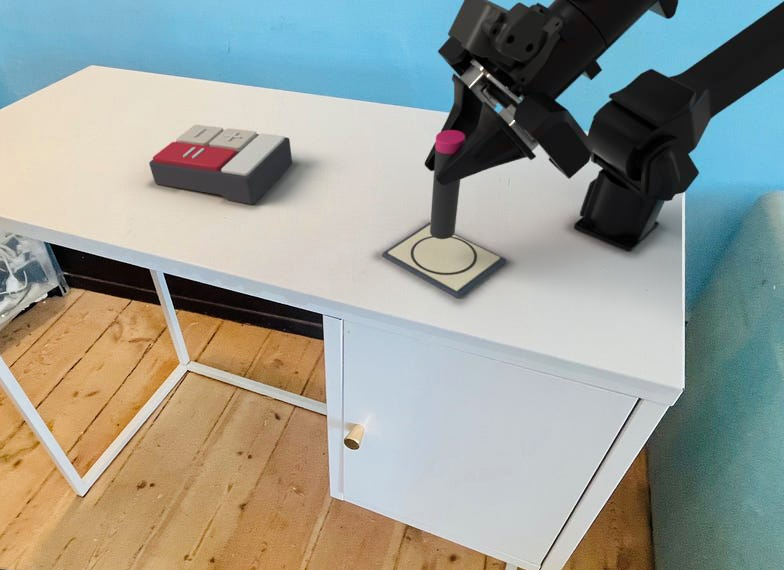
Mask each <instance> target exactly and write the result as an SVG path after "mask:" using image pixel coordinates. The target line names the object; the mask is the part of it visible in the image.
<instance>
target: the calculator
mask: <svg viewBox="0 0 784 570" xmlns="http://www.w3.org/2000/svg"><path fill="white" fill-rule="evenodd" d="M148 164H149V168H150V172H151V175H152V178H153V181H154V184H156V185H158V186H159V185H160V186H165V187H171V188H177V189H182V190H183V189H184V190H189V191H195V192H202V193H208V194H213V195H220V196H222V198H224V199H226V201H229V202H230V201H231V202H236V203H242V204H249V205H254V204H255V203H257V201H258V200H259V199H260V198H261V197H263V195H264V194H265V193H266V192H267V191H268V190H269V189H270V188H271V187H272V186H273V185H274V184H275V182H277V181H278V180H279V178H281V176H282V175H283V174H284V173H286V171H287V170H288V169H289V168H290V167H291V166H292V165H293V156H292V149H291V139H290V138H289V137H286V136H284V135H277V134H269V133H257V131H255V130H248V129H238V128H229V127H228V128H225V129H224V128H223V127H222V126H221V127H220V126H213V125H212V126H211V125H203V124H202V125H201V124H194V125H192V126H190V128H189V129H187V130H186V131H184V132H183V133H182V134H181V135H179V136H178V137H177V138H176V141H171V142H170V143H169V144H168V145H166V146H165V147H164V148H163V149H161V150H160V151H158V152H157V153H156V154H155V155H154V156H153V157H152V160H150V161H149V163H148Z"/></svg>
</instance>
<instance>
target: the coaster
mask: <svg viewBox="0 0 784 570" xmlns="http://www.w3.org/2000/svg"><path fill="white" fill-rule="evenodd" d="M430 223H431V221H429V222H428V223H426V224H425V225H423V226H422V227H420V228H419V229H417V230H416V231H414V232H413V233H411V234H409V235H408V236H406V237H405V238H403V239H402V240H400V241H398V242H396V244H394V245H393V246H390V247H389V248H388V249H386V250H385V251H383V252H382V253H381V257H383V258H385V259H386V260H387V261H390V262H392V263H393V264H395V265H397V266H399V267H401V268H402V269H404V270H406V271H408V272H410V273H412V274H413V275H415V276H416V277H419V278H420V279H422V280H424V281H426V282H427V283H429V284H431V285H432V286H434V287H436V288H438V289H440V290H442V291H443V292H446V293H447V294H449V295H450V296H452V297H454V298H456V299H460V298H461V297H463V296H464V295H465V294H466V293H468V292H469V291H470V290H472V289H473V288H474V287H476V286H477V285H478V284H479V283H481V282H483V281H484V280H485V279H486V278H488V276H490V275H491V274H493V273H494V272H495V271H497V270H498V269H499V268H500V267H502V266H503V265H504V264H506V263H507V258H505V257H502V256H500V255H498V254H496V253H495V252H493V251H490V250H489V249H486V248H484V247H482V246H480V245H479V244H476V243H473V242H472V241H469V240H468V239H466V238H463V237H461V236H459V235H458V234H456V233H454V235H453V236H452V237H450V238H448V239H437V238H435V237H433V236H432V235H431V234H430Z"/></svg>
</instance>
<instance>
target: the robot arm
mask: <svg viewBox="0 0 784 570" xmlns="http://www.w3.org/2000/svg"><path fill="white" fill-rule="evenodd" d="M678 6H679V0H554V1H552V3H551V4H549V5H548V7H547V6H545V5H543V4H541V3H540V2H537V3H536V4H531V5H530V6H527V5H525V4H524V3H522V2H517V3H515V4H514V5H513V6H512V7H511V8H510V9H507V8H505V7H503V6H501V5H498V4H497V3H494V2H493V1H490V0H463V2H462V4H461V6H460V8H459V10H458V12H457V14H456V15H455V18H454V20H453V22H452V24H451V26H450V28H449V30H448V32H447V36H448V39H447V40H446V41H445V42H444V43H443V45H442V46H441V47H440V48H439V49H438V50H437V53H438V55H440V57H442V59H443V60H444V61H445V62H446V64H448V65H449V67H450V68H451V69H452V70H453V71H454V73H453V74H452V76H451V82H452V83H453V104H452V107H451V109H450V112H449V114H448V116H447V118H446V119H445V120H446V121H445V122H444V124H443V126H442V128H441V130H440V132H442V131H446V130H456V131H460V132H462V133H464V135H465V142H464V143H463V144H462V145H461V147H460V148H459V149H458V150H457V151H456V152H455V153H454V155H453V156H452V157H451V158H450V159H449V160H448V161H447V163H446V164H445V165H444V166H443V168H442V169H441V170H440V172H439V173H438V174H437V176H436V178H435V179H436V181H437V182H438V183H439V184H441V185H442V186H444V185H447V184H450V183H452V182H455V181H458V180H460V181H461V180H462V179H466V178H468V177H470V176H473V175H476V174H478V173H481V172H483V171H487V170H489V169H493V168H496V167H498V166H501V165H505V164H508V163H512V162H515V161H519V160H522V159H526V158H527V159H528V160H529V161H532V160H534V159H536V157H537V155H536V154H535V153H534V150H535V149H536V148H537V147H538V146H539V147H541V149H542V150H543V151H544V152H545V154H546V155H547V156H548V161H549V162H550V163H551V165H553V167H554V168H556V169H557V170H558V171H559V172H560V173H561V174H562V175H564V176H565V178H567V179H568V180H570V179H571V178H573V176H575V175H576V174H577V173H579V171H581V169H582V168H584V167H585V166H586V165H587V164H588V163H589V162H592V163H593V164H596V165H597V166H599V167H600V168H601V169H600V170H599V171H598V173H597V176H596V178H594V179H593V180H591V181H590V182H589V184H588V187H587V190H586V193H585V196H584V199H583V202H582V205H581V208H580V210H579V216H580V217H581V218H579V219H578V220H577V221H576V222H574V225H573V229H574V230H576V231H578V232H581V233H583V234H585V235H588V236H590V237H593V238H594V239H597V240H600V241H602V242H605V243H606V244H610V245H612V246H613V247H616V248H619V249H621V250H623V251H626V252H632V251H634V250H635V249H636V248H637V247H639V245H640V244H642V242H644V241H645V240H646V239H647V238H648V237H649V236H650V235H652V234H653V233H654V232H655V231H656V230H657V229H658V228H659V227H660V222H659V221H657V219H658V217H659V215H660V213H661V210H662V209H663V206H664V204H665V202H669V201H673V199H674V197H676V195H679V194H684V193H685V192H687V190H688V189H689V188H690V186H691V185H692V184H693V182H694V181H695V180H696V179H697V177H698V176H699V174H700V171H699V170H698V167H697V166H696V164H695V163H694V161H693V159H692V158H691V156H690V153H692V152H694V150H695V149H696V148H697V147H698V145H699V143H700V141H701V140H702V137H703V135H704V133H705V131H706V129H707V127H708V126H709V123H710V121H711V120H712V119H713V118H714V117H715V116H716V115H718V114H719V113H721V112H722V111H724V110H726V109H727V108H728V107H730V106H732V105H733V104H734V103H735V102H737V101H738V100H741V98H744V96H746V95H747V94H749V93H750V92H752V91H753V90H755V89H757V87H759V86H761V85H762V84H763V83H765V82H767V81H768V80H770V79H771V78H772V77H774V76H775V75H777V74H778V73H780V72H781V71H783V70H784V0H783V1H782V2H780V3H779V4H778V5H776V6H774V7H773V8H772V9H770V10H769V11H767V12H766V13H764V14H763V15H762V16H760V17H759V18H758V19H756V20H755V21H753V22H752V23H750V24H749V25H748V26H746V27H745V28H743V29H742V30H741V31H740V32H738V33H737V34H735V35H734V36H732V37H731V38H729V39H728V40H726V41H725V42H724V43H722V44H720V45H719V46H718V47H717V48H716V49H714V50H712V51H710V53H708V54H707V55H705V56H704V57H703V58H701V59H700V60H699V61H697V62H696V63H694V64H693V65H691V66H690V67H688V68H687V69H686V70H683V72H681V73H679V74H676V75H672V76H667V75H665V74H664V73H662V72H659V71H658V70H656V69H653V68H650V69H647V70H645V71H644V72H641V73H640V74H639V75H637V76H636V78H634V79H633V80H632V81H631V82H630V83H629V84H627V85H625V86H624V87H622V88H621V89H619V90H618V91H615V92H611V93H610V94H609V95H608V98H609V99H610V100H609V101H608V102H606V103H605V104H603V106H601V107H600V108H599V109H598V110H597V111H596V113H595V114H594V115H593V117H592V121H591V123H590V127H589V128H588V133H586V132H585V131H584V129H583V128H582V127H581V125H580V124H579V123H578V122H577V120H576V119H575V118H574V116H573V115H572V114H571V112H570V111H569V110H568V109H567V108H566V107H564V106H563V105H562V104H561V103H559V102H558V101H557V99H558V98H559V97H560V96H561V95H562V94H564V92H565V91H567V90H568V89H569V88H570V87H571V86H572V85H573V84H574V83H575V82H576V81H577V80H578V79H579V78H580V77H581V76H582V75H583V77H585V78H587V79H588V80H590V81H593V79H595V78H596V77H597V76H598V75H599V74H601V72H602V71H603V69H602V68H601V66H600V64H599V63H598V60H599V59H600V58H601V57H602V56H603V55H604V54H606V52H607V51H608V50H609V49H610V48H611V47H612V46H613V45H614V44H615V43H616V42H617V41H619V39H620V38H621V37H622V36H624V35H625V34H626V33H627V32H628V31H629V29H631V27H633V26H634V25H635V24H636V23H637V22H638V21H640V19H641V18H642V17H643V16H644V15H645V14H646V13H647V12H648V11H650V12H652V13H654V14H656V15H658V16H660V17H662V18H664V19H666V20H670V19H672V18H674V16H676V13H677V9H678ZM497 104H498V105H500V106H501V107H502V109H501V110H500V111H498V112H497V110H495V109H496V108H497V107H498V105H497ZM435 151H436V148H435V142H434V143H433V145H432V147H431V149H430V151H429V153H428V155H427V156H426V159H425V160H424V166H425V168H426V169H428V170H429V171H430V172H434V165H435Z"/></svg>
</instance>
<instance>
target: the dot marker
mask: <svg viewBox="0 0 784 570" xmlns="http://www.w3.org/2000/svg"><path fill="white" fill-rule="evenodd" d="M464 142H465V135H464V133H462V132H460V131H456V130H446V131H442V132H441V131H440V132H438V133H437V134H436V136H435V142H434V143H435V148H436V151H435V165H434V171H433V180H432V196H431V211H430V222H431V223H430V222H429V223H430V234H431V235H432V236H433V237H435V238H437V239H448V238H450V237H452V236H453V235H454V234H456V233H455V232H456V224H457V215H458V206H459V205H458V204H459V196H460V186H461V179H460V180H458V181H455V182H452V183H450V184H447V185H444V186H442V185H441V184H439V183H438V182H437V181H436V179H435V178H436V176H437V174H438V173H439V172H440V170H441V169H442V168H443V166H444V165H445V164H446V163H447V161H448V160H449V159H450V158H451V157H452V156H453V155H454V153H455V152H456V151H457V150H458V149H459V148H460V147H461V145H462V144H463V143H464Z"/></svg>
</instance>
